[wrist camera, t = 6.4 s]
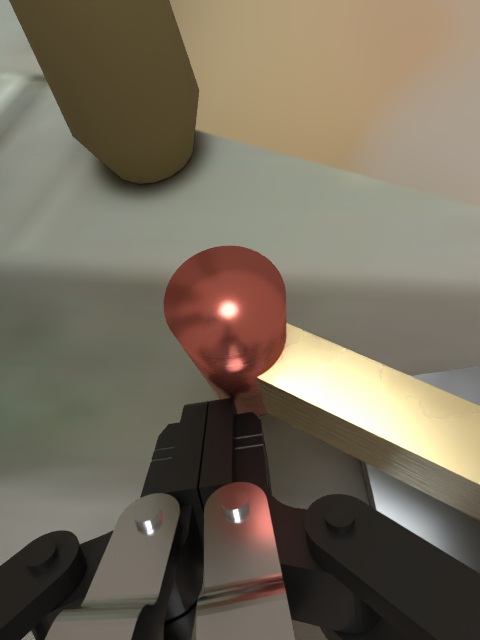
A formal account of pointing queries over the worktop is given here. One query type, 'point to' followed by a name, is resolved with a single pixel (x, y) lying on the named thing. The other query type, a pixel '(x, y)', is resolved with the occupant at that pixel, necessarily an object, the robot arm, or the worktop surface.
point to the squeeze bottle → (118, 80)
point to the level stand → (420, 508)
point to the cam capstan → (319, 378)
